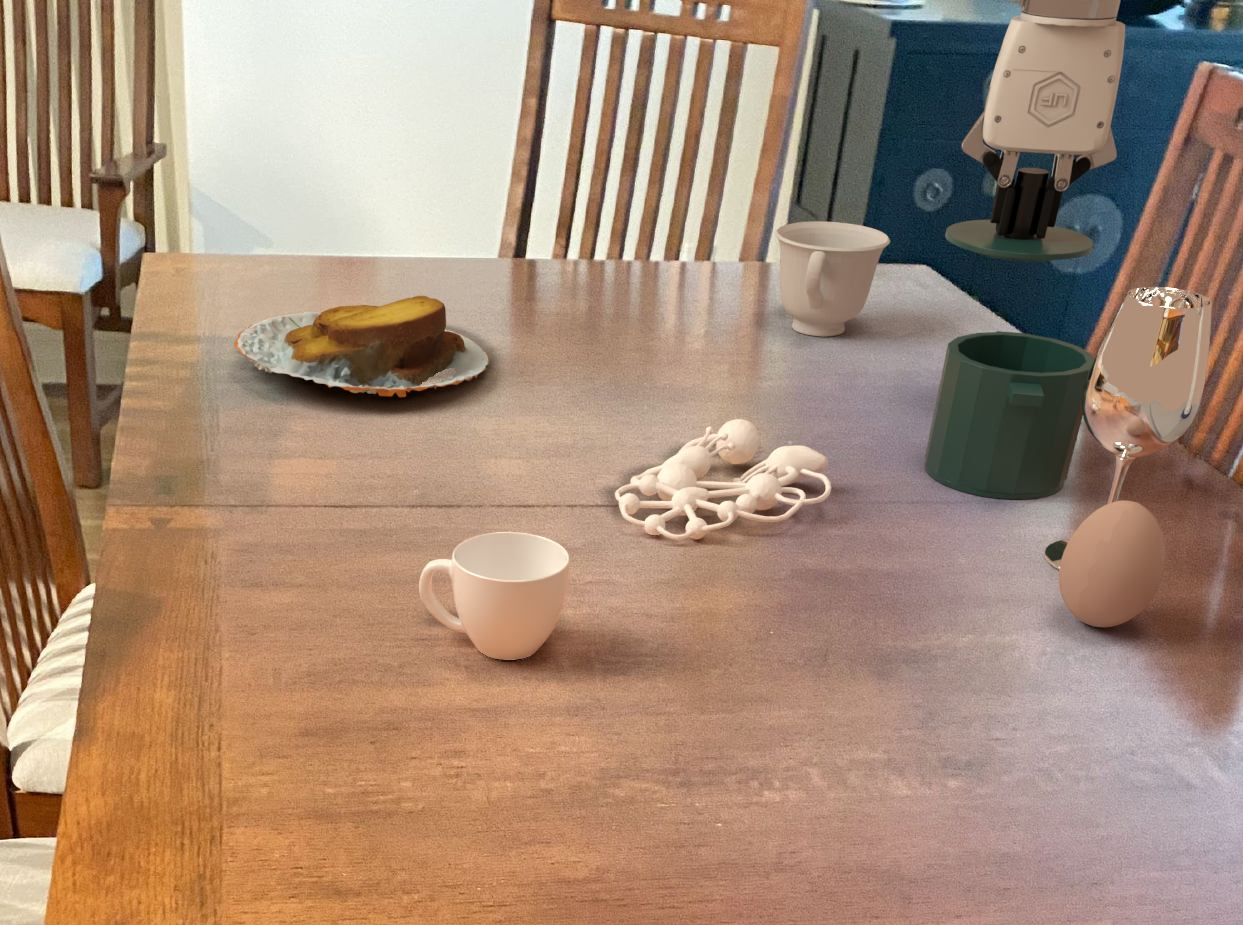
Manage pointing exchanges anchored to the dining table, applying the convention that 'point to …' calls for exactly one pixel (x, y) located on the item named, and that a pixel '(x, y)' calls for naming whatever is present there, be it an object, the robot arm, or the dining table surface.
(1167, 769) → the dining table surface
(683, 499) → the tangled rod sculpture
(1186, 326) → the wineglass
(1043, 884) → the dining table surface
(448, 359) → the food on plate
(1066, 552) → the egg
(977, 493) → the pot
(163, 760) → the dining table surface
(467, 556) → the cup
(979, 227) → the lid
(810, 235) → the teacup
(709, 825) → the dining table surface
